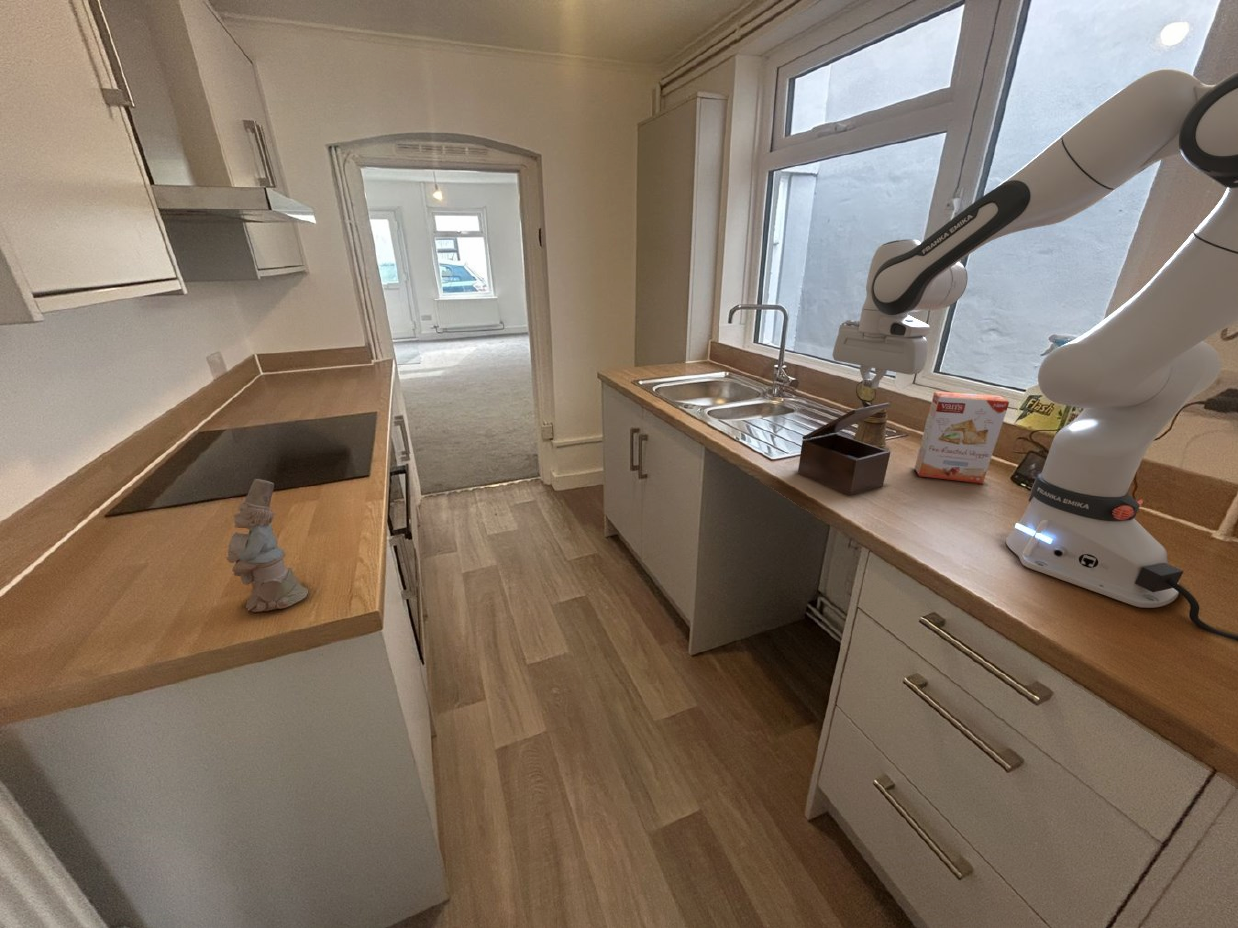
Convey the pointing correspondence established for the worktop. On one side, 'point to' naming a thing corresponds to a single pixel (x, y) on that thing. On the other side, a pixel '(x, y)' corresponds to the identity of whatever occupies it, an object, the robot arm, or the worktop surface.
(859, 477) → the chest
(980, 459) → the cracker box
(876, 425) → the wooden mug
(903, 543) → the worktop surface
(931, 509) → the worktop surface
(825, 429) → the lid
